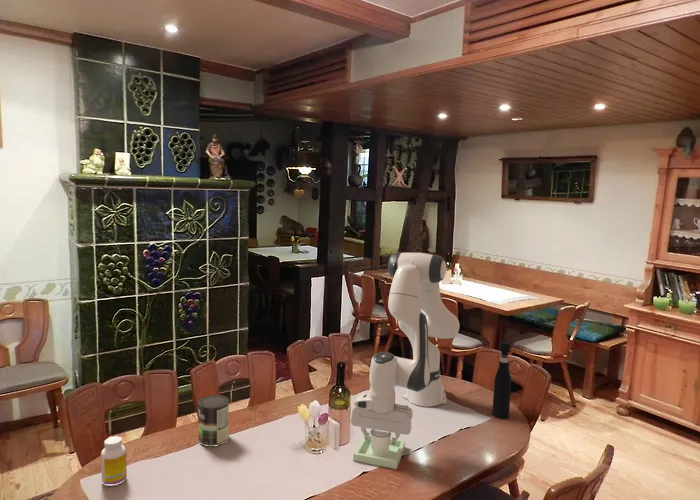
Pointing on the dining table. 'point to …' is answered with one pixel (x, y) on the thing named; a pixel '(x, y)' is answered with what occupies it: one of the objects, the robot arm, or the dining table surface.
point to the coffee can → (213, 420)
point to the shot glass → (380, 442)
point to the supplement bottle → (113, 461)
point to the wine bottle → (502, 384)
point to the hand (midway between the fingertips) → (380, 441)
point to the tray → (390, 460)
